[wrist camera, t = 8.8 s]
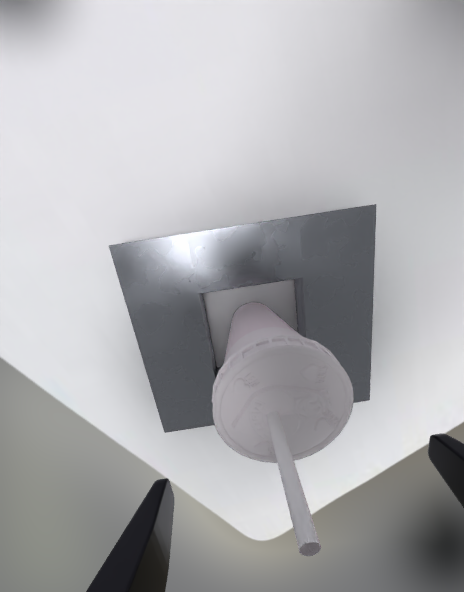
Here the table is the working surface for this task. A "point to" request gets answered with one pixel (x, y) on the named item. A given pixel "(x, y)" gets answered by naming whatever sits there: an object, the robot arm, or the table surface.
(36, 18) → the table surface
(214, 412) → the smoothie
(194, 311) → the square plate with hole
